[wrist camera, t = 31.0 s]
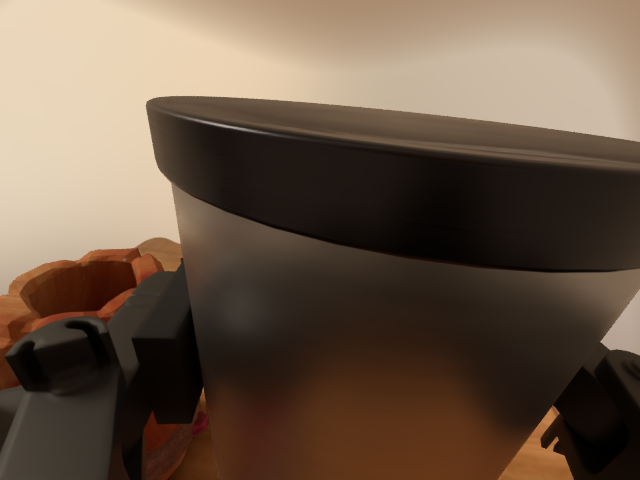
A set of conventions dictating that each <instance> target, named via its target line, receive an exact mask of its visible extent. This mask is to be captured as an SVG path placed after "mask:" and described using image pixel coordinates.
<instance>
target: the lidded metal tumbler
mask: <svg viewBox="0 0 640 480" xmlns="http://www.w3.org/2000/svg"><path fill="white" fill-rule="evenodd" d="M146 109H147V115H148V120H149V126H150V131H151V137H152V143H153V149H154V154H155V159H156V162H157V165H158V168H159V169H160V171H161V172H162V173H163V174H164V176H165V177H166V178H167V179H168V180H169V181H170V182H171V184H172V190H173V196H174V203H175V209H176V215H177V222H178V228H179V234H180V241H181V247H182V254H183V260H184V266H185V273H186V279H187V285H188V292H189V298H190V304H191V310H192V317H193V323H194V329H195V336H196V342H197V348H198V355H199V361H200V367H201V374H202V380H203V386H204V393H205V399H206V405H207V412H208V418H209V424H210V431H211V437H212V443H213V449H214V456H215V462H216V468H217V475H218V480H497V479H498V478H499V476H500V475H501V474H502V472H503V471H504V470H505V468H506V467H507V466H508V464H509V463H510V462H511V460H512V459H513V458H514V456H515V455H516V454H517V452H518V451H519V450H520V448H521V447H522V446H523V444H524V443H525V442H526V440H527V439H528V438H529V436H530V435H531V434H532V432H533V431H534V430H535V428H536V427H537V426H538V424H539V423H540V422H541V420H542V419H543V418H544V416H545V415H546V414H547V412H548V411H549V410H550V408H551V407H552V406H553V404H554V403H555V402H556V400H557V399H558V398H559V396H560V395H561V394H562V392H563V391H564V390H565V388H566V387H567V386H568V384H569V383H570V382H571V380H572V379H573V378H574V376H575V375H576V374H577V372H578V371H579V369H580V368H581V367H582V365H583V364H584V363H585V361H586V360H587V359H588V357H589V356H590V355H591V353H592V352H593V351H594V349H595V348H596V347H597V345H598V344H599V343H600V341H601V340H602V339H603V337H604V336H605V335H606V333H607V332H608V331H609V329H610V328H611V327H612V325H613V324H614V323H615V321H616V320H617V319H618V317H619V316H620V315H621V313H622V312H623V310H624V309H625V308H626V307H627V305H628V304H629V303H630V301H631V300H632V299H633V297H634V296H635V295H636V293H637V292H638V290H639V289H640V142H636V141H630V140H623V139H616V138H610V137H604V136H596V135H589V134H583V133H575V132H569V131H561V130H554V129H546V128H538V127H531V126H523V125H515V124H508V123H499V122H491V121H483V120H475V119H466V118H456V117H448V116H440V115H430V114H421V113H412V112H402V111H392V110H382V109H372V108H362V107H351V106H340V105H329V104H316V103H305V102H292V101H279V100H264V99H248V98H229V97H205V96H204V97H203V96H170V97H159V98H154V99H151V100H149V101H147V104H146Z"/></svg>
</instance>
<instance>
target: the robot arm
mask: <svg viewBox="0 0 640 480" xmlns="http://www.w3.org/2000/svg"><path fill="white" fill-rule="evenodd" d="M4 357H5V359H6V361H7V362H8V364H9V365H10V367H11V369H12V370H13V372H14V374H15V375H16V377H17V379H18V380H19V382H20V383H21V386H17V387H12V388H8V389H4V390H0V480H146V443H147V442H146V438H145V434H144V428H145V426H146V424H147V422H148V420H149V417H150V415H151V413H152V411H153V412H154V416H155V419H156V422H157V424H192V421H193V417H194V414H195V411H196V408H197V405H198V402H199V399H200V396H201V392H202V389H203V380H202V374H201V367H200V361H199V355H198V348H197V342H196V336H195V329H194V323H193V317H192V310H191V304H190V298H189V292H188V285H187V279H186V273H185V266H184V260H183V262H182V263H181V265H180V266H179V268H178V269H177V271H176V272H172V271H157V272H155V273H153V274H152V275H150V276H149V277H147V278H146V279H144V280H142V281H141V282H140V284H139V285H138V286H137V287H136V288H135V290H134V291H133V292H132V293H131V296H129V297H128V298H127V299H126V301H125V302H124V303H123V306H122V307H120V308H119V309H118V310H117V311H116V313H115V314H114V315H113V316H112V318H111V319H110V320H109V321H108V322H107V323H106V322H104V321H103V320H101V319H100V318H98V317H92V316H77V317H68V318H65V319H61V320H58V321H55V322H51V323H49V324H47V325H45V326H42V327H40V328H38V329H36V330H34V331H32V332H30V333H29V334H28V335H26V336H25V337H23V338H22V339H21V340H19V341H18V342H17V343H15V344H14V345H13V347H12V348H11V349H10V350H9V351H8V353H7V354H6V355H5V356H4ZM553 405H554V407H555V408H556V409H557V410H558V412H559V413H560V414H559V415H558V416H557V417H556V419H555V420H554V421H553V422H552V424H551V425H550V426H549V428H548V429H547V430H546V431H545V433H544V434H543V436H542V437H541V447H543V448H545V449H547V448H548V446H549V445H550V444H551V443H552V442H553V440H554V439H555V438H556V437H558V439H559V441H558V442H557V443H556V444H555V445H554V449H553V451H554V452H556V453H559V454H562V455H564V456H565V457H566V460H567V463H568V465H569V468H570V471H571V473H572V476H573V478H574V480H640V356H639V355H637V354H634V353H631V352H628V351H623V350H611V351H610V350H609V349H608V348H607V347H605V346H604V345H603V344H602V343H601V342H600V343H599V344H598V345H597V347H596V348H595V349H594V351H593V352H592V353H591V355H590V356H589V357H588V359H587V360H586V361H585V363H584V364H583V365H582V367H581V368H580V369H579V371H578V372H577V374H576V375H575V376H574V378H573V379H572V380H571V382H570V383H569V384H568V386H567V387H566V388H565V390H564V391H563V392H562V394H561V395H560V396H559V398H558V399H557V400H556V402H555V403H554V404H553Z"/></svg>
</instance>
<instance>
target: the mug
mask: <svg viewBox="0 0 640 480" xmlns="http://www.w3.org/2000/svg"><path fill="white" fill-rule="evenodd" d="M157 271H164V269H163V267H162V265H161V263H160V262H159V261H158V260H157V259H156V258H154V257H153V256H152V255H151V254H146V255H144V256H142V257H141V255H140V253H139V250H138V248H132V249H109V250H95V251H91V252H89V253H88V254H86V255H85V256H84V257H83V258H81V259H80V260H77V261H68V260H61V261H57V262H51V263H46V264H43V265H41V266H39V267H37V268H35V269H33V270H31V271H29V272H27V273H25V274H22V275H20V276H18V277H17V278H16V279H15V280H14V281H13V282H12V283H11V284H10V285H9V294H8V295H2V296H0V390H4V389H8V388H12V387H17V386H21V383H20V382H19V380H18V379H17V377H16V375H15V374H14V372H13V370H12V369H11V367H10V365H9V364H8V362H7V361H6V359H5V357H4V356H5V355H6V354H7V353H8V351H9V350H10V349H11V348H12V347H13V345H14V344H15V343H17V342H18V341H19V340H21V339H22V338H23V337H25V336H26V335H28V334H29V333H30V332H32V331H34V330H36V329H38V328H40V327H42V326H45V325H47V324H49V323H51V322H55V321H58V320H61V319H65V318H68V317H77V316H92V317H98V318H100V319H101V320H103V321H104V322H106V323H107V322H108V321H109V320H110V319H111V318H112V316H113V315H114V314H115V313H116V311H117V310H118V309H119V308H120V307H122V306H123V303H124V302H125V301H126V299H127V298H128V297H129V296H131V293H132V292H133V291H134V290H135V288H136V287H137V286H138V285H139V284H140V282H141V281H142V280H144V279H146V278H147V277H149V276H150V275H152V274H153V273H155V272H157ZM200 407H201V406H200V399H199V402H198V405H197V408H196V411H195V414H194V417H193V421H192V424H157V422H156V419H155V416H154V412H153V411H152V413H151V415H150V417H149V420H148V422H147V424H146V426H145V428H144V434H145V438H146V442H147V443H146V480H167V479H168V478H169V477H170V476H171V475H172V474H173V473H174V472H175V471H176V469H177V468H178V466H179V465H180V463H181V462H182V460H183V459H184V457H185V454H186V451H187V447H188V445H189V444H190V442H191V440H192V439H193V437H194V436H197V435H199V434H201V433H202V432H204V431H205V430H206V428H207V426H208V418H207V415H206V413H204V412H203V411H201V410H200Z"/></svg>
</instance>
